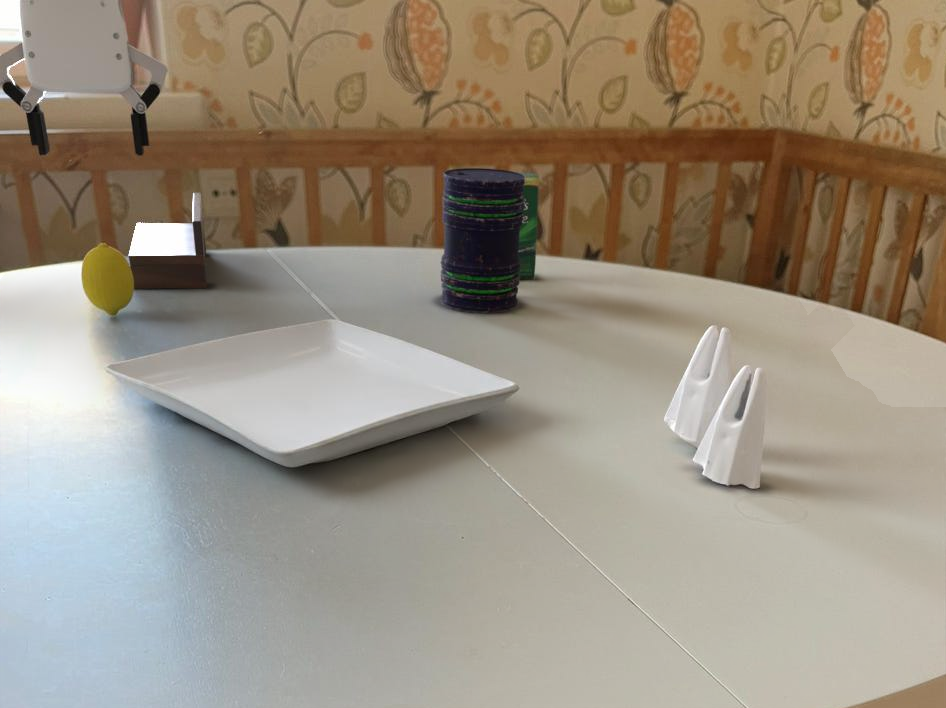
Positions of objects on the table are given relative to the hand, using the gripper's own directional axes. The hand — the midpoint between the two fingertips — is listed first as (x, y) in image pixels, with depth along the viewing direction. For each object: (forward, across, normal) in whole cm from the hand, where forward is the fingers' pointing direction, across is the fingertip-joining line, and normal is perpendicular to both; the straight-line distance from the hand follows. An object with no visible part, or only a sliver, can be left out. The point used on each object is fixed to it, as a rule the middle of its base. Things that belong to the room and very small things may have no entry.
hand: (92, 153), depth 111 cm
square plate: (+18, -19, +33) cm, 42 cm away
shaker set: (+18, -52, +50) cm, 74 cm away
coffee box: (+18, -50, -17) cm, 56 cm away
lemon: (+17, 0, 0) cm, 17 cm away
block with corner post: (+17, -6, -23) cm, 29 cm away
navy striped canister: (+18, -43, -4) cm, 47 cm away
